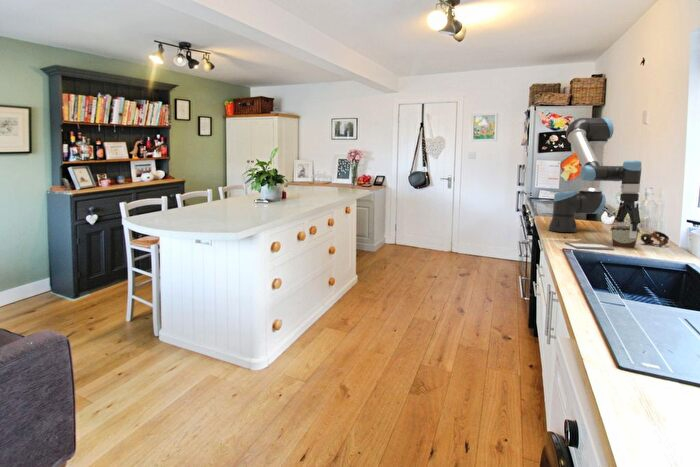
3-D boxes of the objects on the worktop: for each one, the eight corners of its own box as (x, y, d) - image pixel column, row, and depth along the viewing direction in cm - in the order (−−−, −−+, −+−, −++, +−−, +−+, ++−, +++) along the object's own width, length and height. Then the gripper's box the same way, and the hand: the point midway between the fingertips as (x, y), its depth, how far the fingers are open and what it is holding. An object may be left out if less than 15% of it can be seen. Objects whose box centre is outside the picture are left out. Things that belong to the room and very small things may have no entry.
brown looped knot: (656, 244, 223) (665, 232, 218) (664, 255, 215) (674, 242, 210) (633, 239, 223) (642, 226, 218) (640, 249, 215) (650, 236, 211)
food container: (640, 248, 209) (642, 227, 207) (638, 249, 204) (640, 228, 203) (611, 245, 217) (613, 225, 216) (608, 246, 212) (610, 226, 211)
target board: (564, 243, 220) (564, 242, 220) (598, 244, 217) (598, 243, 217) (577, 248, 202) (577, 247, 202) (613, 250, 199) (614, 248, 199)
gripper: (610, 192, 220) (607, 233, 222) (633, 192, 196) (629, 239, 198) (626, 193, 219) (622, 234, 221) (651, 193, 195) (647, 239, 197)
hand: (626, 236), depth 210 cm, fingers open, 13 cm apart
